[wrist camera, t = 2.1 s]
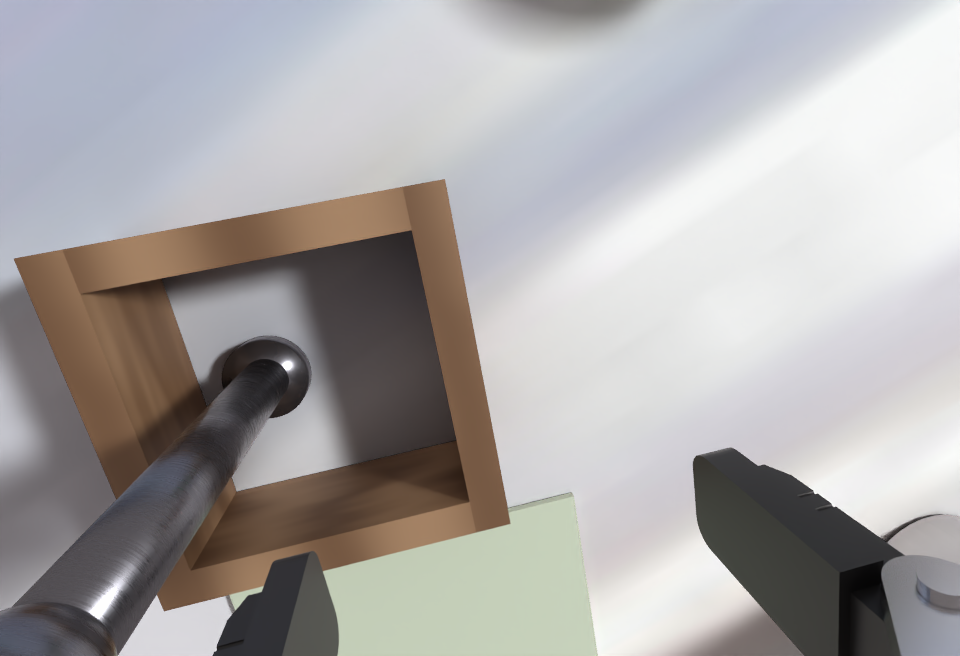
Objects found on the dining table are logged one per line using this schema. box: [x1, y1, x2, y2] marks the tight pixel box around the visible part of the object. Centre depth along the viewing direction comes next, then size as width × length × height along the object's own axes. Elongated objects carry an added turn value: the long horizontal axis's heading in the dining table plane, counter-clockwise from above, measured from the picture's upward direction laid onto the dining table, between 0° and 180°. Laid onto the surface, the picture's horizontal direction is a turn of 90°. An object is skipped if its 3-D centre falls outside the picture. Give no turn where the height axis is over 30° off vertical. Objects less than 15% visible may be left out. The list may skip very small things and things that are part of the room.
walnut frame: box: [14, 179, 511, 611], centre depth 23 cm, size 15×15×6 cm
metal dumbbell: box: [0, 336, 312, 656], centre depth 16 cm, size 4×4×19 cm
